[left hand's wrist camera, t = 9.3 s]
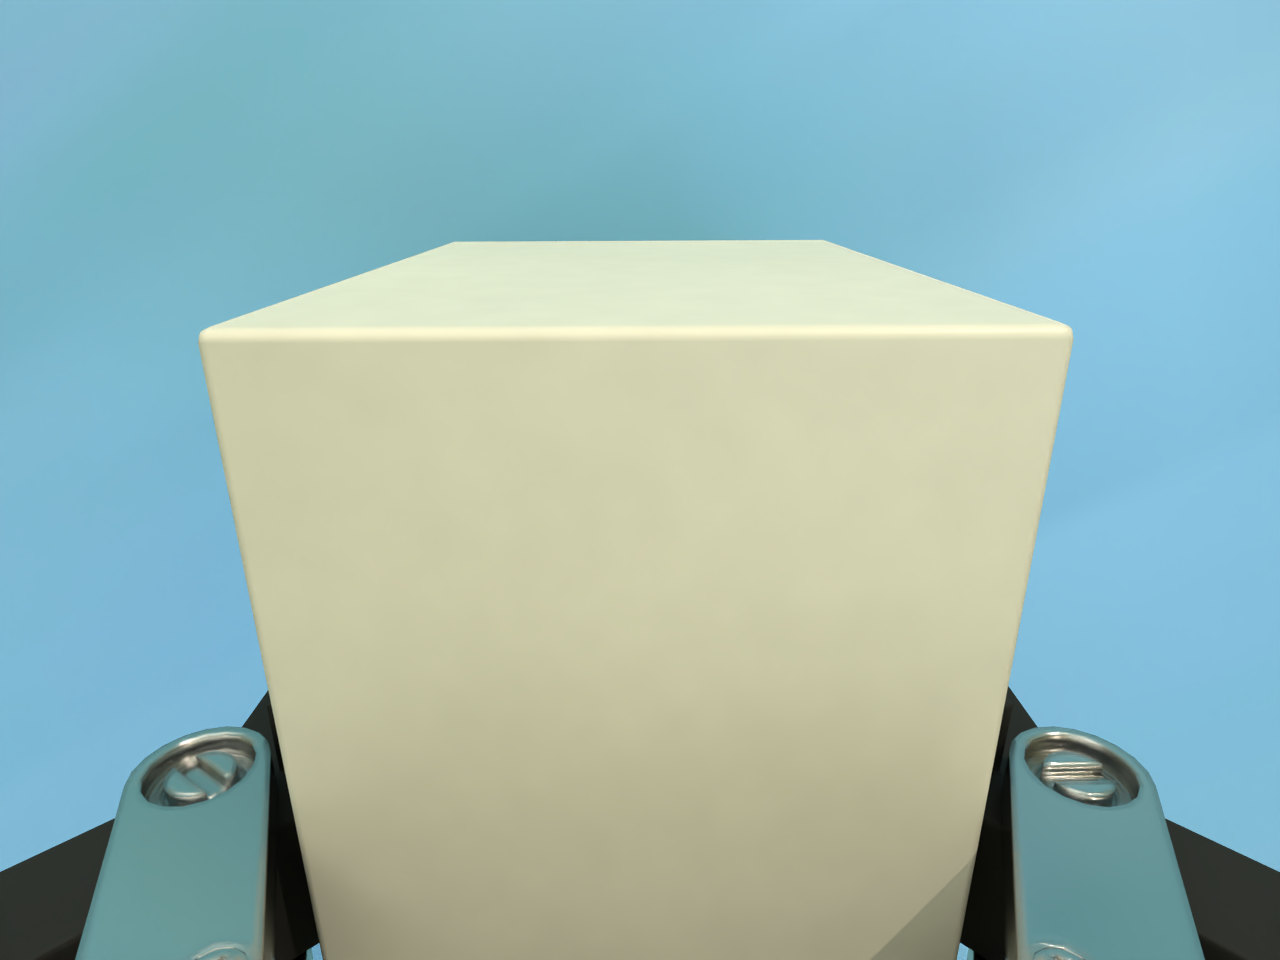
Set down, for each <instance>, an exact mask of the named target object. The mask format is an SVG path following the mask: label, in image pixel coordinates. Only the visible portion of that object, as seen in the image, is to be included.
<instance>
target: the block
mask: <svg viewBox="0 0 1280 960" xmlns="http://www.w3.org/2000/svg"><path fill="white" fill-rule="evenodd" d="M198 344H199V349H200V354H201V359H202V364H203V369H204V374H205V379H206V384H207V389H208V394H209V399H210V404H211V409H212V414H213V418H214V423H215V428H216V433H217V438H218V443H219V448H220V453H221V458H222V463H223V468H224V473H225V478H226V483H227V488H228V493H229V498H230V503H231V507H232V512H233V517H234V522H235V527H236V532H237V537H238V542H239V547H240V552H241V557H242V562H243V567H244V572H245V577H246V582H247V587H248V592H249V596H250V601H251V606H252V611H253V616H254V621H255V626H256V631H257V636H258V641H259V646H260V651H261V656H262V661H263V666H264V671H265V676H266V681H267V685H268V690H269V695H270V700H271V705H272V710H273V715H274V720H275V725H276V730H277V735H278V740H279V745H280V750H281V755H282V760H283V765H284V770H285V775H286V779H287V784H288V789H289V794H290V799H291V804H292V809H293V814H294V819H295V824H296V829H297V834H298V839H299V844H300V849H301V854H302V859H303V864H304V868H305V873H306V878H307V883H308V888H309V893H310V898H311V903H312V908H313V913H314V918H315V923H316V928H317V933H318V938H319V943H320V948H321V953H322V957H323V960H957V954H958V949H959V944H960V938H961V933H962V928H963V922H964V917H965V912H966V906H967V901H968V896H969V891H970V885H971V880H972V875H973V869H974V864H975V859H976V853H977V848H978V843H979V837H980V832H981V827H982V822H983V816H984V811H985V806H986V800H987V795H988V790H989V784H990V779H991V774H992V768H993V763H994V758H995V752H996V747H997V742H998V737H999V731H1000V726H1001V721H1002V715H1003V710H1004V705H1005V699H1006V694H1007V689H1008V683H1009V678H1010V673H1011V667H1012V662H1013V657H1014V652H1015V646H1016V641H1017V636H1018V630H1019V625H1020V620H1021V614H1022V609H1023V604H1024V598H1025V593H1026V588H1027V583H1028V577H1029V572H1030V567H1031V561H1032V556H1033V551H1034V545H1035V540H1036V535H1037V529H1038V524H1039V519H1040V513H1041V508H1042V503H1043V498H1044V492H1045V487H1046V482H1047V476H1048V471H1049V466H1050V460H1051V455H1052V450H1053V444H1054V439H1055V434H1056V428H1057V423H1058V418H1059V413H1060V407H1061V402H1062V397H1063V391H1064V386H1065V381H1066V375H1067V370H1068V365H1069V359H1070V354H1071V349H1072V344H1073V333H1072V329H1071V328H1070V327H1069V326H1067V325H1065V324H1063V323H1060V322H1058V321H1055V320H1052V319H1049V318H1046V317H1043V316H1040V315H1037V314H1035V313H1032V312H1029V311H1026V310H1023V309H1020V308H1017V307H1014V306H1012V305H1009V304H1006V303H1003V302H1000V301H997V300H994V299H991V298H989V297H986V296H983V295H980V294H977V293H974V292H971V291H968V290H966V289H963V288H960V287H957V286H954V285H951V284H948V283H945V282H942V281H940V280H937V279H934V278H931V277H928V276H925V275H922V274H919V273H917V272H914V271H911V270H908V269H905V268H902V267H899V266H896V265H894V264H891V263H888V262H885V261H882V260H879V259H876V258H873V257H871V256H868V255H865V254H862V253H859V252H856V251H853V250H850V249H848V248H845V247H842V246H839V245H836V244H833V243H830V242H827V241H825V240H720V241H519V242H452V243H450V244H447V245H444V246H441V247H438V248H435V249H432V250H429V251H427V252H424V253H421V254H418V255H415V256H412V257H409V258H406V259H404V260H401V261H398V262H395V263H392V264H389V265H386V266H383V267H381V268H378V269H375V270H372V271H369V272H366V273H363V274H360V275H358V276H355V277H352V278H349V279H346V280H343V281H340V282H337V283H335V284H332V285H329V286H326V287H323V288H320V289H317V290H314V291H312V292H309V293H306V294H303V295H300V296H297V297H294V298H291V299H289V300H286V301H283V302H280V303H277V304H274V305H271V306H268V307H265V308H263V309H260V310H257V311H254V312H251V313H248V314H245V315H242V316H240V317H237V318H234V319H231V320H228V321H225V322H222V323H219V324H217V325H214V326H211V327H209V328H207V329H204V330H202V331H201V332H200V334H199V341H198Z"/></svg>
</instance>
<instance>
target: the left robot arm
mask: <svg viewBox="0 0 1280 960" xmlns="http://www.w3.org/2000/svg"><path fill="white" fill-rule="evenodd" d="M318 943H319V938H318V933H317V928H316V923H315V918H314V913H313V908H312V903H311V898H310V893H309V888H308V883H307V878H306V873H305V868H304V864H303V859H302V854H301V849H300V844H299V839H298V834H297V829H296V824H295V819H294V814H293V809H292V804H291V799H290V794H289V789H288V784H287V779H286V775H285V770H284V765H283V760H282V755H281V750H280V745H279V740H278V735H277V730H276V725H275V720H274V715H273V710H272V705H271V700H270V695H269V690H268V691H267V693H266V694H265V696H264V697H263V698H262V700H261V701H260V703H259V704H258V705H257V707H256V708H255V710H254V711H253V712H252V714H251V715H250V717H249V718H248V719H247V721H246V722H245V724H244V725H243V726H242V727H220V728H212V729H205V730H202V731H199V732H195V733H192V734H189V735H185V736H183V737H181V738H179V739H176V740H174V741H172V742H170V743H168V744H166V745H164V746H162V747H161V748H159V749H158V750H156V751H155V752H153V753H152V754H150V755H149V756H147V757H146V758H145V759H144V760H143V761H142V762H141V763H140V764H139V765H138V766H137V767H136V768H135V769H134V770H133V771H132V772H131V774H130V776H129V778H128V780H127V782H126V784H125V786H124V789H123V792H122V796H121V799H120V803H119V807H118V810H117V814H116V817H115V819H112V820H110V821H108V822H106V823H104V824H102V825H100V826H97V827H95V828H93V829H91V830H89V831H87V832H85V833H83V834H80V835H78V836H76V837H74V838H72V839H70V840H68V841H66V842H63V843H61V844H59V845H57V846H55V847H53V848H51V849H48V850H46V851H44V852H42V853H40V854H38V855H36V856H34V857H31V858H29V859H27V860H25V861H23V862H21V863H19V864H16V865H14V866H12V867H10V868H8V869H6V870H4V871H2V872H0V960H313V955H312V950H311V948H312V947H313V946H315V945H316V944H318ZM960 943H962V944H963V945H965V946H967V947H968V948H969V950H968V955H967V960H1280V872H1278V871H1276V870H1274V869H1272V868H1270V867H1267V866H1265V865H1263V864H1261V863H1259V862H1257V861H1255V860H1253V859H1250V858H1248V857H1246V856H1244V855H1242V854H1240V853H1238V852H1235V851H1233V850H1231V849H1229V848H1227V847H1225V846H1223V845H1221V844H1218V843H1216V842H1214V841H1212V840H1210V839H1208V838H1206V837H1203V836H1201V835H1199V834H1197V833H1195V832H1193V831H1191V830H1189V829H1186V828H1184V827H1182V826H1180V825H1178V824H1176V823H1174V822H1171V821H1169V820H1167V819H1165V817H1164V814H1163V810H1162V807H1161V803H1160V799H1159V796H1158V792H1157V789H1156V786H1155V784H1154V782H1153V780H1152V778H1151V776H1150V774H1149V772H1148V771H1147V770H1146V769H1145V768H1144V767H1143V766H1142V765H1141V764H1140V763H1139V762H1138V761H1137V760H1136V759H1135V758H1134V757H1133V756H1131V755H1130V754H1128V753H1127V752H1125V751H1124V750H1122V749H1121V748H1119V747H1118V746H1116V745H1114V744H1112V743H1110V742H1108V741H1106V740H1104V739H1101V738H1099V737H1097V736H1095V735H1091V734H1088V733H1085V732H1081V731H1078V730H1075V729H1068V728H1060V727H1037V726H1036V724H1035V723H1034V722H1033V720H1032V719H1031V717H1030V716H1029V715H1028V713H1027V712H1026V710H1025V709H1024V708H1023V706H1022V705H1021V703H1020V702H1019V701H1018V699H1017V698H1016V696H1015V695H1014V694H1013V692H1012V691H1011V689H1010V688H1009V687H1008V689H1007V694H1006V699H1005V705H1004V710H1003V715H1002V721H1001V726H1000V731H999V737H998V742H997V747H996V752H995V758H994V763H993V768H992V774H991V779H990V784H989V790H988V795H987V800H986V806H985V811H984V816H983V822H982V827H981V832H980V837H979V843H978V848H977V853H976V859H975V864H974V869H973V875H972V880H971V885H970V891H969V896H968V901H967V906H966V912H965V917H964V922H963V928H962V933H961V938H960Z"/></svg>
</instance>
